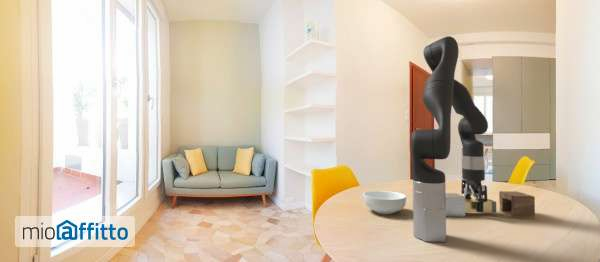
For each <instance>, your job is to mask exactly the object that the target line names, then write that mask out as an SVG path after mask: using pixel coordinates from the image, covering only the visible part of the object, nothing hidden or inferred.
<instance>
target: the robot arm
mask: <svg viewBox="0 0 600 262" xmlns="http://www.w3.org/2000/svg"><path fill="white" fill-rule="evenodd" d="M459 50H460V49H459V45H458V41H457V39H456V38H455V37H453V36H449V35H448V36H444V37H442V38H439V39H437V40H436V41H434V42H431V43H430V44H428V45H426V46H425V47H424V49H423V58H424V60H425V62H426V64H427V65H428V68H429V69H430V70H431V72H432V73H431V74H430V75H429V76H428V78H427V80H426V81H425V84H424V88H423V93H422V101H423V102H422V103H423V104H424V106H425V108H426V110H427V111H428V112H429V113H430V114H431V115H432V116H433V118H434V119H435V121H436V123H437V125H438V129H436V128H434V129H430V128H429V129H428V128H427V129H424V128H423V129H415V130H413V131H412V132H411V136H410V151H411V163H412V164H411V167H412V168H411V169H412V171H411V172H412V209H413V210H412V213H413V214H412V216H413V217H412V219H413V221H412V222H413V226H412V227H413V228H412V229H413V230H412V231H413V236H414V237H415V238H417V239H418V240H419V239H420V240H423V242H431V243H432V242H433V243H434V242H435V243H437V242H438V243H446V242H447V216H446V194H445V193H447V192H446V173H445V172H444V171H442V170H440V169H437V168H434V167H432V166H431V165H429V164H428V163H426V161H425V160H446V159H447V158H448V157H449V155H450V151H451V137H452V135H451V122H452V121H451V117H452V116H451V115H452V108H453V110H454V111H455V113H456V114H457V115H460V116H462V117H463V118H461V119H460V120H459V122H458V125H457V131H458V135H459V139H460V141H461V145H462V160H461V174H462V175H461V178H462V179H461V189H460V191H461V194H462V195H463V197H465V199H472V197H474V199H476V211H477V212H476V213H484V212H483V203H484V202H487V199H488V186H487V185H482V182H483V181H485V179H486V176H485V172H486V171H485V168H486V167H485V158H484V155H485V154H484V152H485V151H484V149H485V148H484V143H483V142H482V141H480V140H478V139H477V138H476V136H479V135H483V134H485V133H487V131H488V128H489V123H488V120H487V118H486V116H485V115H484V114H483V112H482V111H481V110H480V109H479V107H477V106H476V104H475V102H474V101H473V98H472V96H471V93H470V92H469V90H468V89H467V87H466V86H465V85H464V84H462V83H461V82H460V81H458V80H457V79H455V74H456V68H457V64H458V59H459V53H460V52H459Z"/></svg>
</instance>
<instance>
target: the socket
mask: <svg viewBox="0 0 600 262" xmlns="http://www.w3.org/2000/svg"><path fill="white" fill-rule="evenodd" d="M498 195H499V212H500V213H503V214H505V215H507V216H510V217H512V218H514V219H535V218H536V213H535V212H536V210H535V209H536V208H535V207H536V206H535V205H536V202H535V200H536V199H535V196H533V195H530V194H527V193H524V192H520V191H517V190H515V191H509V190H508V191H507V190H505V191H503V190H502V191H500V190H499V191H498Z"/></svg>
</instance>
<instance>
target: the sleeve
mask: <svg viewBox="0 0 600 262" xmlns="http://www.w3.org/2000/svg"><path fill="white" fill-rule="evenodd" d="M445 194H446V217H461V218H462V217H464V218H465V217H466V216H467V215H466V212H465V196H464V195H461V194H459V193H456V192H455V193H453V192H451V193H450V192H449V193H448V192H445Z"/></svg>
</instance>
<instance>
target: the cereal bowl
mask: <svg viewBox="0 0 600 262" xmlns="http://www.w3.org/2000/svg"><path fill="white" fill-rule="evenodd" d="M363 202H364V204H365V205H366V206H367V208H369V209H370V210H373V211H374V212H375V213H376V212H377V213H376V214H381V215H392V214H394V213H396V212H399V211H401V210H403V209H404V208H405V206H406V203H407V196H406V195H405V194H404V193H401V192H396V191H388V190H370V191H365V192H363Z"/></svg>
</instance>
